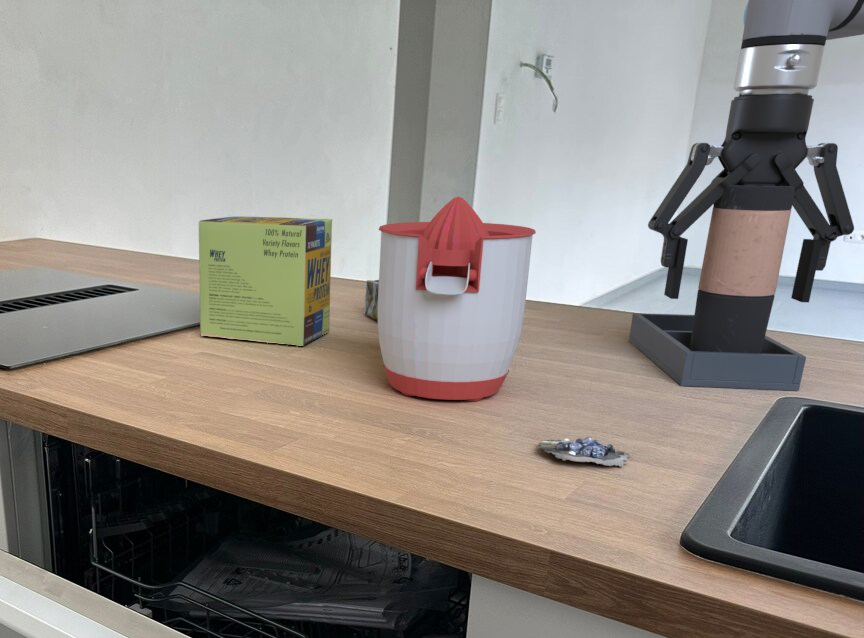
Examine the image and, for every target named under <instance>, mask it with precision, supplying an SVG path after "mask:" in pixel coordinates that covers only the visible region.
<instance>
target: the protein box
mask: <svg viewBox="0 0 864 638" xmlns="http://www.w3.org/2000/svg"><path fill="white" fill-rule="evenodd" d="M332 234H333V219H332V218H303V217H301V218H300V217H283V216H282V217H281V216H280V217H278V216H277V217H276V216H275V217H274V216H273V217H272V216H241V215H240V216H239V215H238V216H235V215H234V216H225V217H216V218H209V219H201V220H199V221H198V261H199V262H198V263H199V269H198V270H199V271H198V272H199V334H200V333H203V334H210V335H218V336H225V337H234V338H242V339H252V340H261V341H269V342H276V343H284V344H294V345H300V346H303V347H305V346H307V345H308V344H310V343H312V342H314V341H316V340H317V338H318V339H319V338H321V337H323V336H325V335H327V334H329V333H330V318H331V316H330V314H331V310H330V309H331V307H330V305H331V277H332V276H331V274H332V273H331V271H332V270H331V269H332V237H333V236H332ZM328 332H329V333H328ZM326 333H327V334H326ZM324 334H325V335H324ZM322 335H323V336H322ZM315 339H316V340H315ZM313 340H314V341H313ZM311 341H312V342H311ZM309 342H310V343H309ZM307 343H308V344H307ZM306 344H307V345H306ZM304 345H305V346H304Z"/></svg>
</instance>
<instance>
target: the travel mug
mask: <svg viewBox="0 0 864 638" xmlns="http://www.w3.org/2000/svg"><path fill="white" fill-rule="evenodd" d="M794 193H795V192H794V187H792V186H740V185H729V186H728V187H727V188H726V189H725V190H724V192H723V195H722V196H721V197H720V198H719V199H718V200H717V201H716V202H715V203H714V204H713V205H712V206H713V207H712V210H711V215H710V221H709V227H708V233H707V237H706V243H705V249H704V254H703V259H702V265H701V272H700V276H699V281H698V286H697V287H698V289H697V293H696V299H695V300H696V301H695V309H694V314H693V315H694V322H693V329H692V336H691V344H690V350H691V351H705V352H733V353H761V351H762V347H763V343H764V339H765V335H766V334H767V329H768V325H769V321H770V318H771V312H772V310H773V309H772V308H773V306H774V300H775V296H776V291H777V286H778V281H779V278H780V277H779V275H780V272H781V271H780V270H781V266H782V261H783V257H784V256H783V255H784V250H785V245H786V240H787V234H788V229H789V225H790V220H791V219H790V218H791V214H792V208H793V206H792V204H793V199H794Z"/></svg>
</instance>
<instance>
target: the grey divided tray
mask: <svg viewBox="0 0 864 638" xmlns="http://www.w3.org/2000/svg"><path fill="white" fill-rule="evenodd" d="M694 315H695V314H677V313H675V314H674V313H646V312H645V313H641V312H633V313H632V315H631V322H630V329H629V336H628V342H629V343H630V344H632V345H633V346H634V347H635V348H636V349H637V350H639V351H640V352H641V353H642V354H643V355H645V356H646V357H647V358H648V359H649V360H650V361H652V362H653V363H654V364H655V365H656V366H658V368H660V370H662V371H663V372H664V373H665V374H666V375H668V377H670V378H671V379H672V380H674V382H676V383H677V384H678V385H679V386H680V387H694V388H695V387H696V388H697V387H698V388H719V389H741V390H742V389H743V390H744V389H746V390H766V391H767V390H768V391H792V392H799V391H800V389H801V383H802V378H803V374H804V369H805V365H806V361H807V356H806V355H804V354H802V353H800V352H798V351H796V350H795V349H793V348H790V347H789V346H787V345H785V344H783V343H781V342H780V341H777V340H775V339H773V338H771V337H770V336H768V335H766V334H765V339H764V343H763V347H762V351H761V353H733V352H705V351H691V350H690V344H691V336H692V329H693V322H694Z"/></svg>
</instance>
